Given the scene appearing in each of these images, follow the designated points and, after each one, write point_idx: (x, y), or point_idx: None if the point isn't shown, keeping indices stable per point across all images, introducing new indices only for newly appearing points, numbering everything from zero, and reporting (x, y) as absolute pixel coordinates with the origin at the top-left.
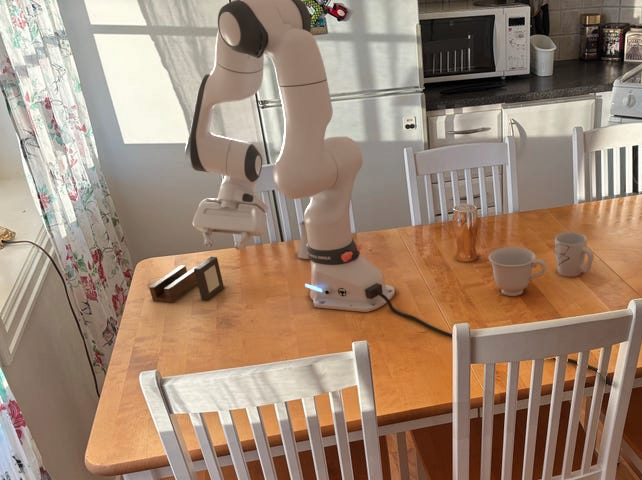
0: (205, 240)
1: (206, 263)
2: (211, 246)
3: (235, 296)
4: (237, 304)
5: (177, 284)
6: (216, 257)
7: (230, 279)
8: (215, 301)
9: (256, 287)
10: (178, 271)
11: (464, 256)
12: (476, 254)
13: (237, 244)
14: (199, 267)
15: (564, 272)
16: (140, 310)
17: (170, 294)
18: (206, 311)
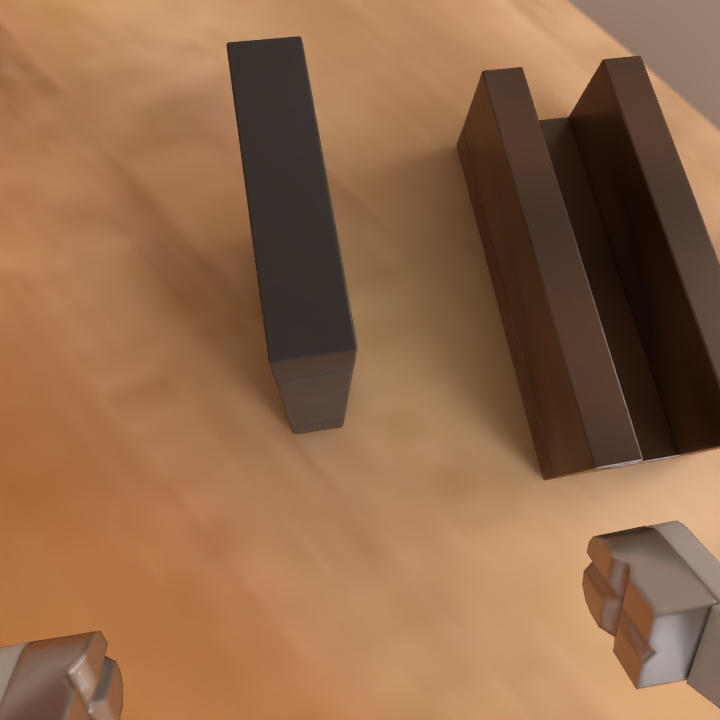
0: (702, 571)
1: (261, 172)
2: (588, 603)
3: (115, 350)
4: (26, 260)
5: (502, 162)
6: (269, 351)
7: (351, 582)
8: (207, 245)
9: (39, 539)
10: (696, 337)
11: None
12: None
13: (25, 687)
14: (261, 73)
15: None
16: (552, 31)
17: (471, 103)
18: (173, 127)
